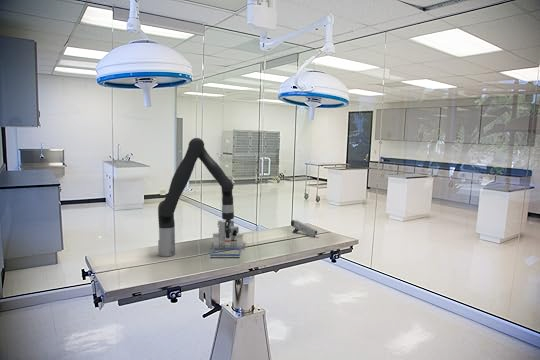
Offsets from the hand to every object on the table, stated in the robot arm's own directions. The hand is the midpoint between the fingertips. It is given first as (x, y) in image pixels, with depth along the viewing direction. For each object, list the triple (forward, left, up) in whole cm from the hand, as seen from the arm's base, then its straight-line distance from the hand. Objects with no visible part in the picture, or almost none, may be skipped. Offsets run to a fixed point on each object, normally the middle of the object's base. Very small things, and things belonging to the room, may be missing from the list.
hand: (228, 236), depth 226 cm
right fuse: (+7, 0, -7) cm, 10 cm away
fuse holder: (0, 0, -9) cm, 9 cm away
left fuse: (-8, 0, -7) cm, 11 cm away
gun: (+53, +38, -9) cm, 66 cm away
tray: (0, -12, -9) cm, 15 cm away
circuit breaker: (-1, +16, -9) cm, 19 cm away
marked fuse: (0, 0, -7) cm, 7 cm away
